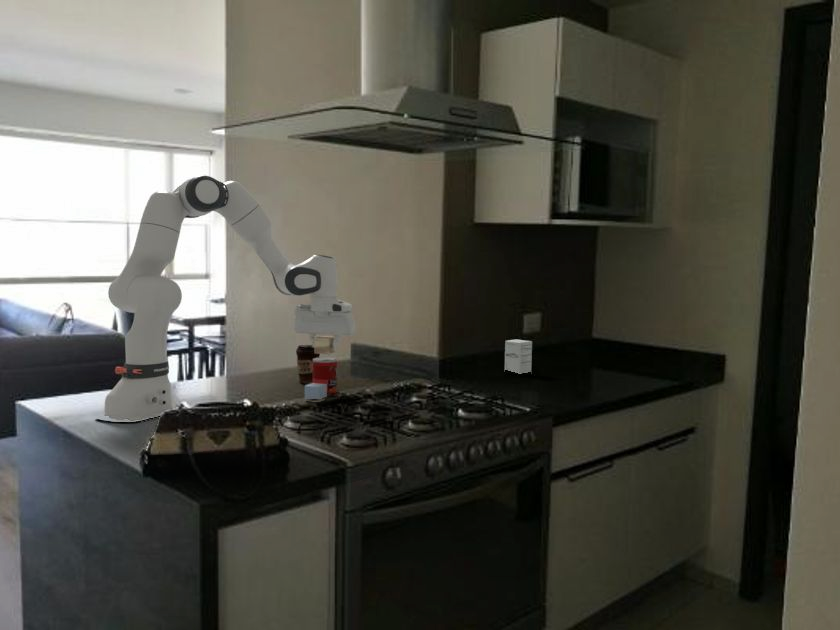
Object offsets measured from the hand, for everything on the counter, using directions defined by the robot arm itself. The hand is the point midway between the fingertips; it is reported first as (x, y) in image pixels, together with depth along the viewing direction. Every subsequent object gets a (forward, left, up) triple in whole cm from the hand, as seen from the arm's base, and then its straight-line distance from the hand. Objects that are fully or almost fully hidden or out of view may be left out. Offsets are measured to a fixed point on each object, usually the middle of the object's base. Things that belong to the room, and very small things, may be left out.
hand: (324, 347), depth 243 cm
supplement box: (+55, -53, -15) cm, 78 cm away
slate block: (-13, -3, -15) cm, 20 cm away
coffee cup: (+14, +13, -15) cm, 24 cm away
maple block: (0, 0, -2) cm, 2 cm away
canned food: (0, 0, -15) cm, 15 cm away
